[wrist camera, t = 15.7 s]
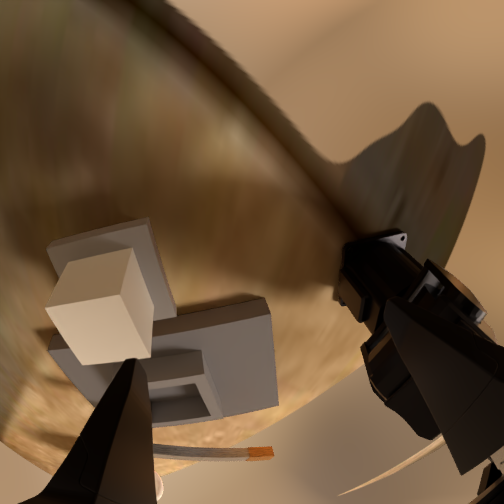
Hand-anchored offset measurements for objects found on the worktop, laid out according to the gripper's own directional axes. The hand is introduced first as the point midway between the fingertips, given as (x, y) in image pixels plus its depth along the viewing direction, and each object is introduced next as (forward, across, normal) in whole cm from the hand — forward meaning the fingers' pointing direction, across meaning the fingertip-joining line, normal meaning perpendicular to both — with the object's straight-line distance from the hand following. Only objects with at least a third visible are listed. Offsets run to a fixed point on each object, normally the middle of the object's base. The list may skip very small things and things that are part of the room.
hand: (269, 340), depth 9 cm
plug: (+12, +8, +2) cm, 15 cm away
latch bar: (+6, +9, +22) cm, 25 cm away
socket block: (+12, +8, +15) cm, 21 cm away
